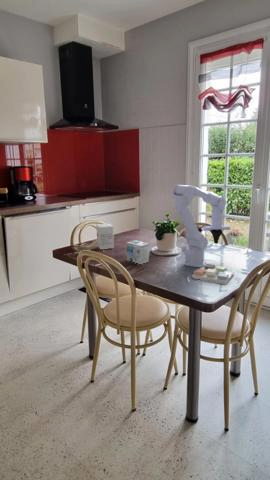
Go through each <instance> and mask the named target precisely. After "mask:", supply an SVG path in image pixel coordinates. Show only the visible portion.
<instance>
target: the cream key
mask: <svg viewBox="0 0 270 480" xmlns="http://www.w3.org/2000/svg"><path fill="white" fill-rule="evenodd" d="M215 269H216V268H214V269H208V270H206V274H208V275H215V274H216V273H217V270H215Z"/></svg>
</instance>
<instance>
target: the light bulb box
mask: <svg viewBox="0 0 270 480" xmlns="http://www.w3.org/2000/svg"><path fill="white" fill-rule="evenodd" d="M149 245H150V244H149V243H148V242H144V241H140V240H137V239H134V240H131V241H128V242H126V257H127V258H126V261H127V260H129V261H128V262H130V261H132V262H131V263H133V262H135V263H134V264H136V263H138V264H137V265H139V264H142V265H144V264H143V263H145V264H147V263H146V262H148V263H149V262H150V261H149V257H150V255H149V254H150V253H149V251H150V249H149V248H150V247H149Z"/></svg>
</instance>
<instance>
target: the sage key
mask: <svg viewBox="0 0 270 480" xmlns="http://www.w3.org/2000/svg"><path fill="white" fill-rule="evenodd" d="M215 269H216V270H217V271H218V272H225V271H227V266H222V265H217V266H215Z"/></svg>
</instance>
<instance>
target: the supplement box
mask: <svg viewBox="0 0 270 480" xmlns="http://www.w3.org/2000/svg"><path fill="white" fill-rule="evenodd" d="M114 237H115V236H114V226H113V225H112V223H109V222H108V223H98V224H96V241H97V242H96V243H97V246H96V247H97V248H98V247H99V248H100V249H108V248H114V249H115V241H114V240H115V239H114ZM99 248H98V249H99Z"/></svg>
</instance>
